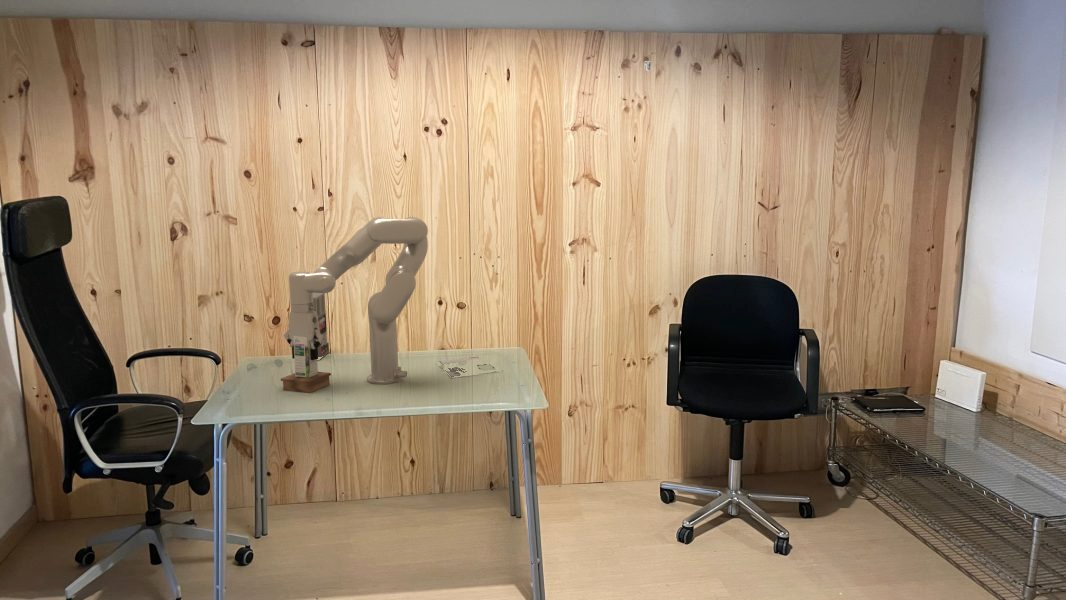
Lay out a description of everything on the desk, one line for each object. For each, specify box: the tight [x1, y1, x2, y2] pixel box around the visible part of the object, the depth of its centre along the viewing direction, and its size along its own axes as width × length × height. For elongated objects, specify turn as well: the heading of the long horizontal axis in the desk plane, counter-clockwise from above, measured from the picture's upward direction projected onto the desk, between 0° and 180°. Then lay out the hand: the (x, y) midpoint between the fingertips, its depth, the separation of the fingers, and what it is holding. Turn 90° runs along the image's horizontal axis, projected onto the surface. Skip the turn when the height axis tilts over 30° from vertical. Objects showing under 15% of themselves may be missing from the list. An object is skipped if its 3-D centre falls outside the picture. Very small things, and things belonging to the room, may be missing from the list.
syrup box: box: [293, 336, 319, 378], centre depth 267 cm, size 6×6×14 cm
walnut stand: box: [280, 371, 332, 393], centre depth 268 cm, size 12×12×4 cm
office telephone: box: [438, 356, 481, 377], centre depth 292 cm, size 23×3×20 cm
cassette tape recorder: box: [313, 293, 330, 357], centre depth 311 cm, size 14×6×25 cm, turn 0°
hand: (305, 358), depth 267 cm, fingers open, 7 cm apart
